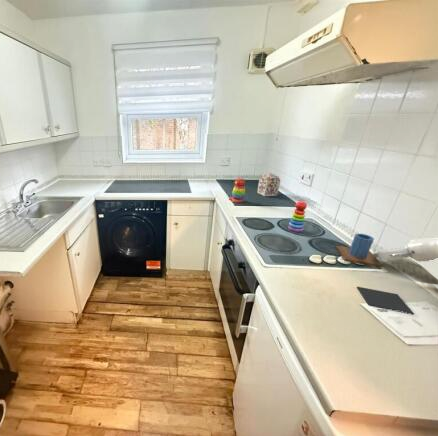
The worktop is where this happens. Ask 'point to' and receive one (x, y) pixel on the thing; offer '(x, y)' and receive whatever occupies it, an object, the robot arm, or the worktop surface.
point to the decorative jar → (268, 185)
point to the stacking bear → (238, 191)
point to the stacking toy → (298, 217)
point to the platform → (350, 258)
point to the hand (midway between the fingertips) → (382, 253)
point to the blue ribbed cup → (361, 245)
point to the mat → (384, 300)
